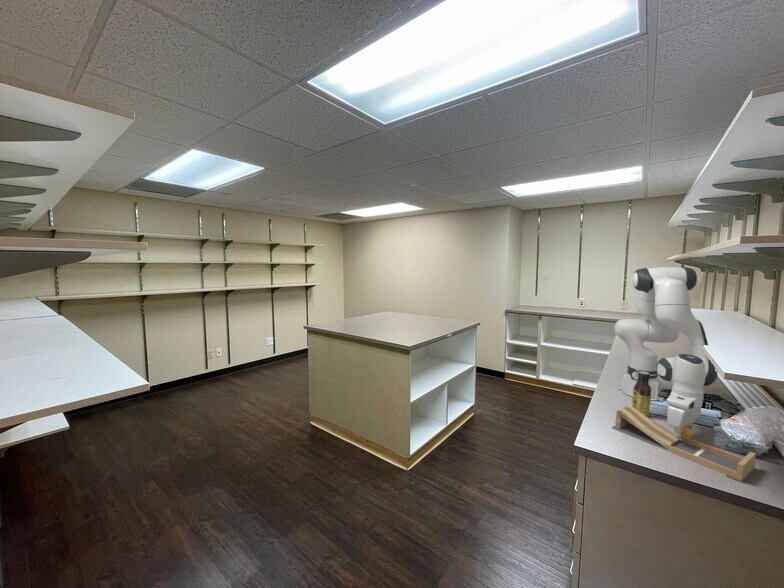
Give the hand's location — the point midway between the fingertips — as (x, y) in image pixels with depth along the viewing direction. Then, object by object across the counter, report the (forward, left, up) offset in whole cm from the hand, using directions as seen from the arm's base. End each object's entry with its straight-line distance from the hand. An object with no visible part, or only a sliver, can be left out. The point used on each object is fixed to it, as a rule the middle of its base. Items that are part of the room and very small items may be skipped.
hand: (683, 433), depth 122 cm
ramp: (+10, -8, -2) cm, 13 cm away
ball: (0, 0, -2) cm, 2 cm away
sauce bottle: (-7, -17, -2) cm, 19 cm away
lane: (+10, +1, -2) cm, 10 cm away
